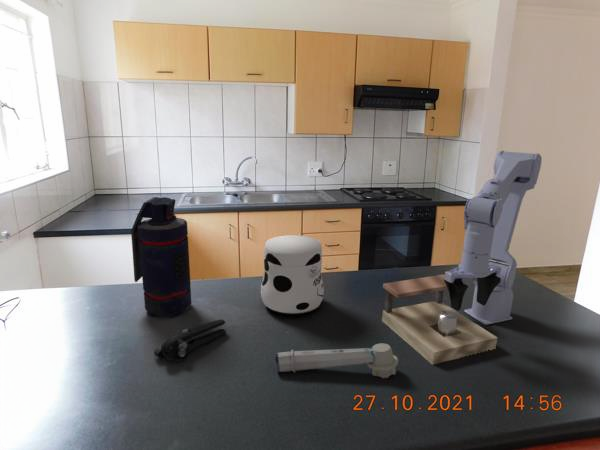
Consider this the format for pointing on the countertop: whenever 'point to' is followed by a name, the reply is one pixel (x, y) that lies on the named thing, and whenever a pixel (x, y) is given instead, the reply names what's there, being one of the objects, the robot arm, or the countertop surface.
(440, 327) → the steel peg
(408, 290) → the socket block
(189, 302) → the grenade
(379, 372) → the toothbrush head
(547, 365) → the countertop surface
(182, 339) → the can opener
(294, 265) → the milk container
